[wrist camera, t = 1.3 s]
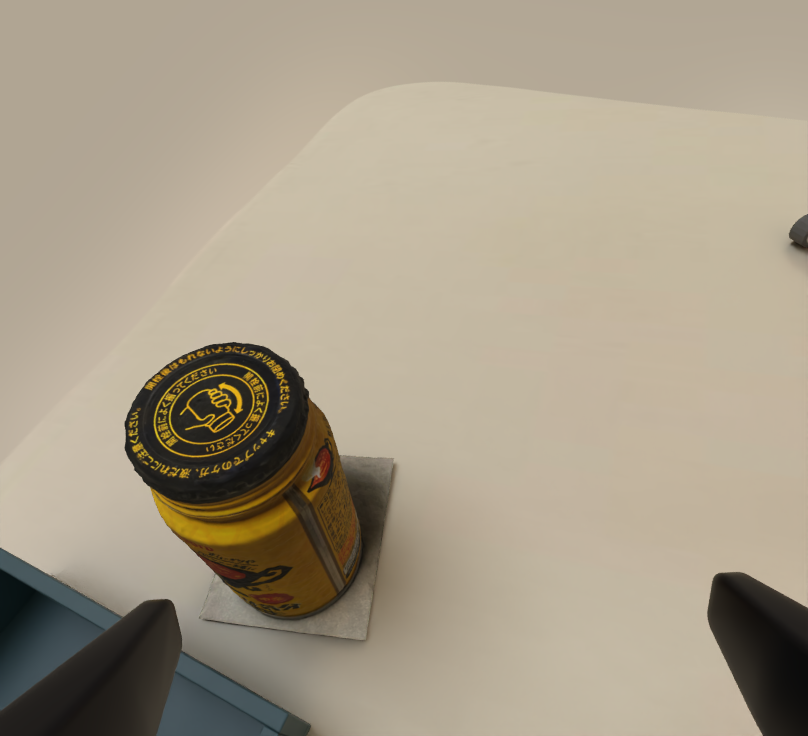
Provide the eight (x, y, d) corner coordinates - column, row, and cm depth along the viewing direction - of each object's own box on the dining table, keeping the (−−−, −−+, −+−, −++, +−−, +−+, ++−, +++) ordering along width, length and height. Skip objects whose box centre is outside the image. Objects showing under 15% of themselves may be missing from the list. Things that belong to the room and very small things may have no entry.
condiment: (200, 619, 23) (36, 501, 13) (259, 448, 28) (170, 277, 18) (366, 642, 22) (316, 532, 12) (394, 461, 27) (374, 288, 18)
